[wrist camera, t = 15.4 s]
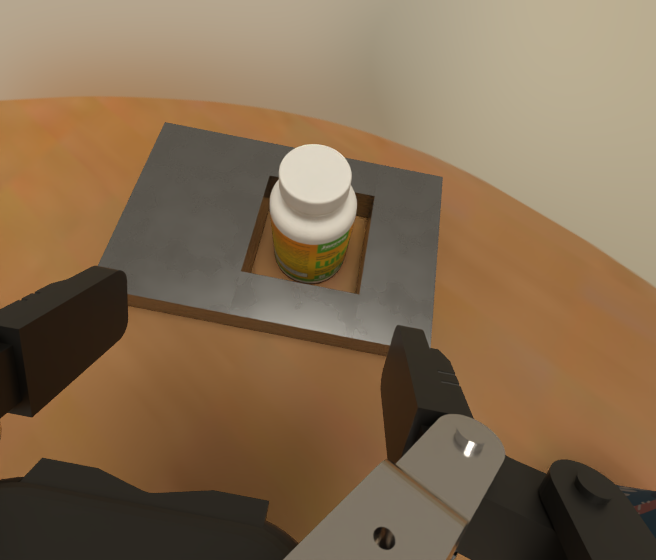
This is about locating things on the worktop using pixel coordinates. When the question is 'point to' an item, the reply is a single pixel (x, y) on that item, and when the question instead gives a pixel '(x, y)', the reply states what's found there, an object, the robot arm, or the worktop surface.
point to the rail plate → (244, 236)
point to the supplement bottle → (312, 213)
